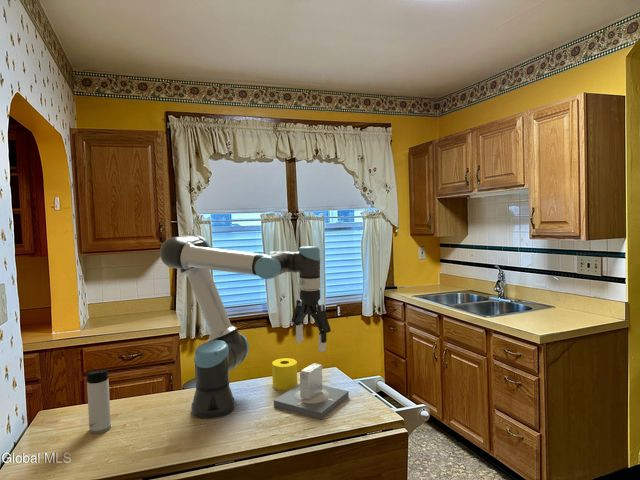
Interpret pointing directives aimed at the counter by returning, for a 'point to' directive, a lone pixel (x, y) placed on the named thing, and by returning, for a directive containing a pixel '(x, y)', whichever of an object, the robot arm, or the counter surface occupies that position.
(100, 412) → the travel mug
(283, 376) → the yellow toilet paper roll
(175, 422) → the counter surface
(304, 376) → the dial handle
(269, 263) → the robot arm
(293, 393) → the dial plate
